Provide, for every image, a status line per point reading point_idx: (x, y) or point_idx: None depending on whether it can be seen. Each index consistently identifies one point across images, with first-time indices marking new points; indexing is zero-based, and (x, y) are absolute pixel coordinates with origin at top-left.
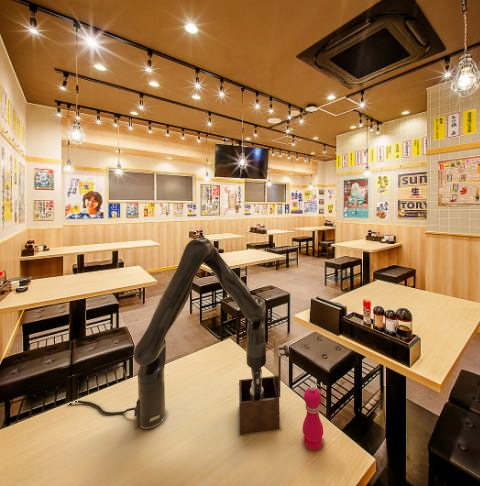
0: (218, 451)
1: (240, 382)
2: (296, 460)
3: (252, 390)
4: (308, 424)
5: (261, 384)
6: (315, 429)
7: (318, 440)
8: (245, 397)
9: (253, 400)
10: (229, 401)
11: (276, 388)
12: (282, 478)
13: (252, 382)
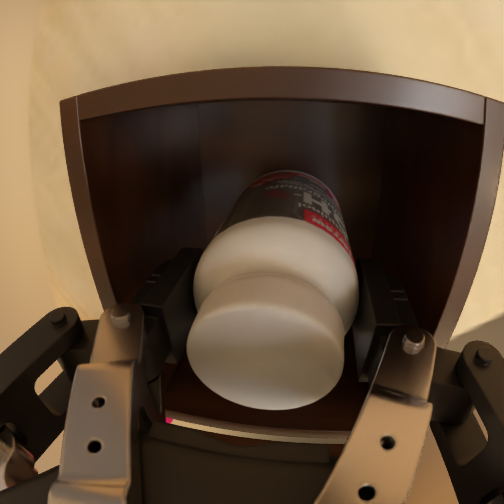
0: (120, 10)
1: (458, 108)
2: (96, 306)
3: (239, 263)
4: None
5: (238, 397)
6: None
7: None
8: (403, 144)
9: (96, 253)
10: (451, 46)
11: (224, 437)
12: (48, 255)
13: (120, 368)
